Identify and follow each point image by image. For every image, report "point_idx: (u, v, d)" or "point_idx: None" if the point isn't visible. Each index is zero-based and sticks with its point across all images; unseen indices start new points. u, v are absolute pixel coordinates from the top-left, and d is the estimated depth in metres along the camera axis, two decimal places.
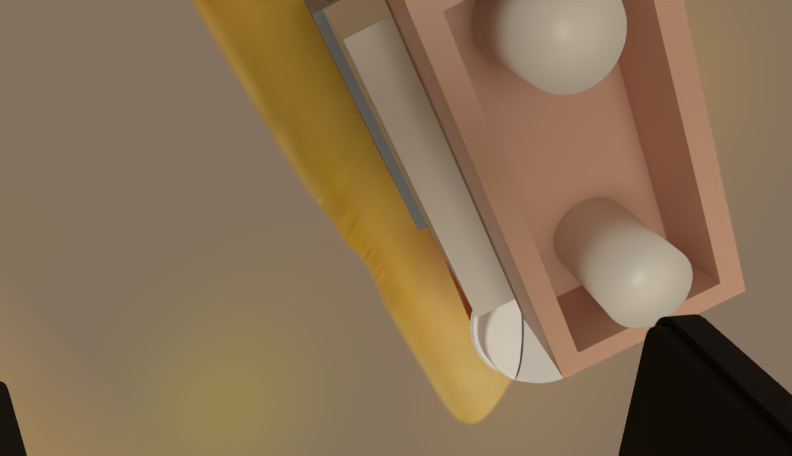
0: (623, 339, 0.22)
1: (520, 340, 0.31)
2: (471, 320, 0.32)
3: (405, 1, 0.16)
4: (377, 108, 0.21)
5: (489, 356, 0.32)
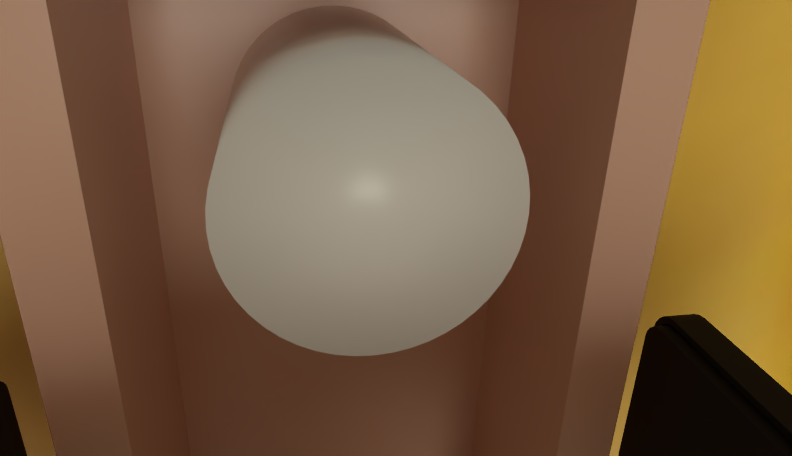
0: None
1: None
2: None
3: None
4: None
5: None
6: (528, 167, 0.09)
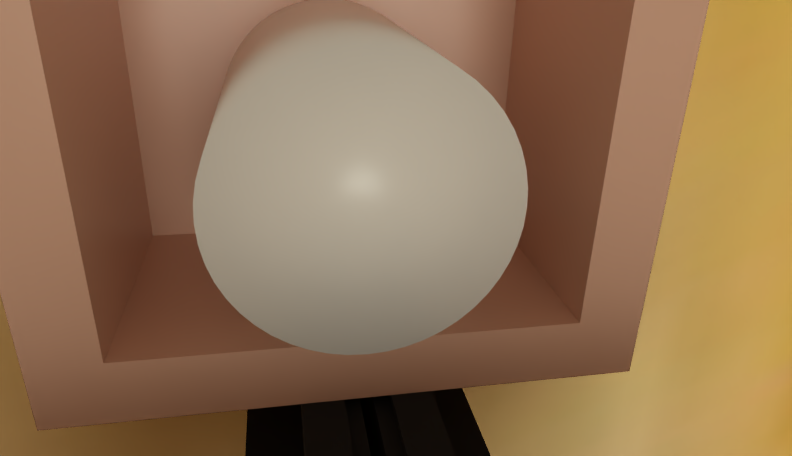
0: None
1: None
2: None
3: (628, 359, 0.08)
4: None
5: None
6: None
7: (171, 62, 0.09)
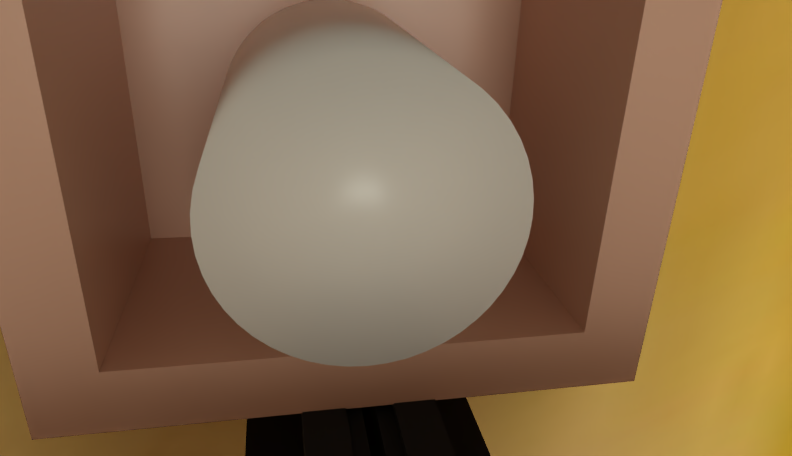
0: None
1: None
2: None
3: (633, 368, 0.08)
4: None
5: None
6: None
7: (170, 63, 0.08)
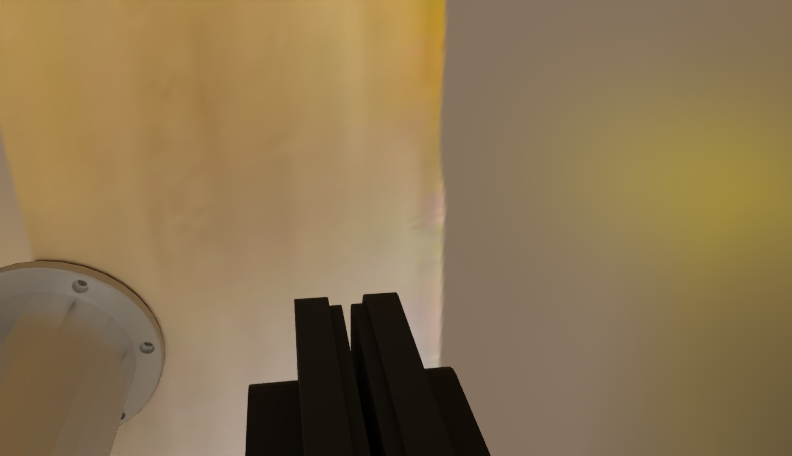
0: None
1: None
2: None
3: None
4: None
5: None
6: None
7: None
